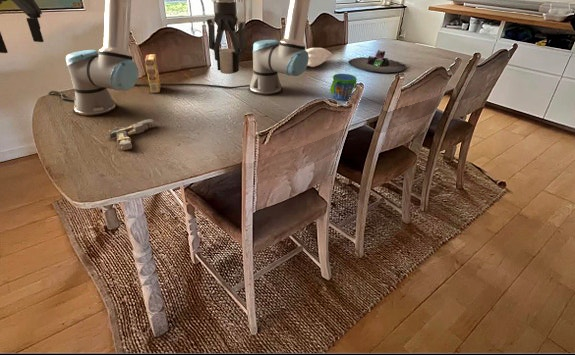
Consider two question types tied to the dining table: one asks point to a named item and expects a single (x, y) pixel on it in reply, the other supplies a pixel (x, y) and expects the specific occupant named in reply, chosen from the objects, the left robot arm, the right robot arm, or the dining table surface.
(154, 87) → the candy box
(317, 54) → the cream pillow
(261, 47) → the right robot arm
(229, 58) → the tin
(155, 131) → the dining table surface
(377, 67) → the dark round tray
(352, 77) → the snack cup
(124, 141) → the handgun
